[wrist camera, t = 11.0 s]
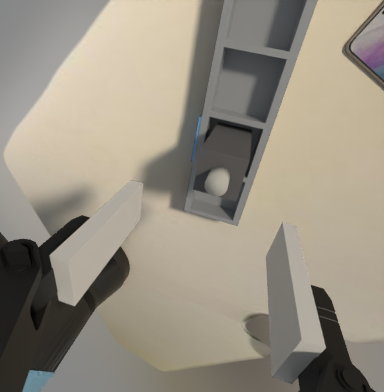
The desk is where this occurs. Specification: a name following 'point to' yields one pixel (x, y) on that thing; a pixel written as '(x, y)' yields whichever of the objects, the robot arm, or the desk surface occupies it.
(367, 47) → the smartphone
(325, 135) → the desk surface
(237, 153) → the grey block with peg
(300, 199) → the desk surface
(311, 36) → the desk surface
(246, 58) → the compartment organizer tray
